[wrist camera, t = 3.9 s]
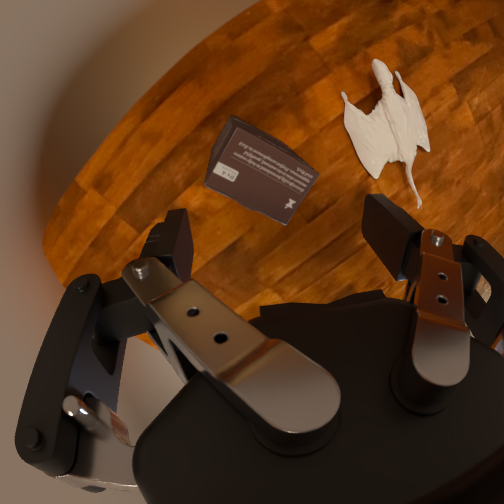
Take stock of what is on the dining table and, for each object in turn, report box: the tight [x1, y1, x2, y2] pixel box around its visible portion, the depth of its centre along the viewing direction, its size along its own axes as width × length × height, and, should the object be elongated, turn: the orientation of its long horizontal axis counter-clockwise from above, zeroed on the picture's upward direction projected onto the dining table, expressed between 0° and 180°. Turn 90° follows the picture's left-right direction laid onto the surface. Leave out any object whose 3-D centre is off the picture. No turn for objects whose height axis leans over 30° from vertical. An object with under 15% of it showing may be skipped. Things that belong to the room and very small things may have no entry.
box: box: [204, 115, 319, 225], centre depth 21 cm, size 6×4×12 cm
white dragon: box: [341, 59, 430, 208], centre depth 25 cm, size 18×10×4 cm, turn 29°
